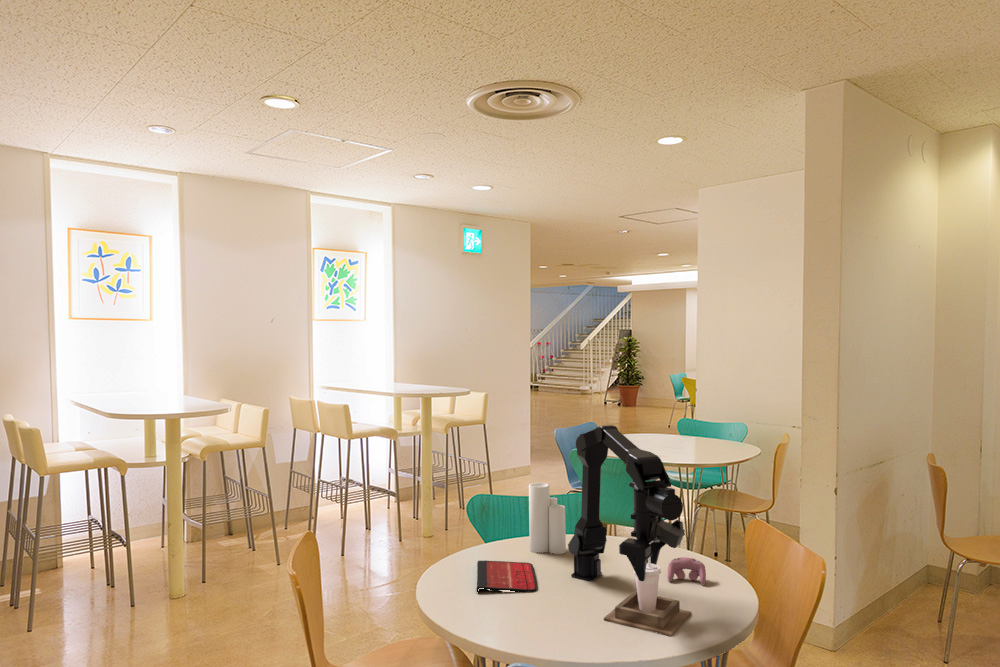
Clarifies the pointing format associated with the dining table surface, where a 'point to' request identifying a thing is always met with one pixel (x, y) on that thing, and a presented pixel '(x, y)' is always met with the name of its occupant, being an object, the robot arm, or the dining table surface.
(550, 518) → the vase
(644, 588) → the smoothie
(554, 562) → the dining table surface
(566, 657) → the dining table surface
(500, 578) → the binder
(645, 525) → the robot arm
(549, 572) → the dining table surface
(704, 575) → the video game controller
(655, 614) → the brown shallow square tray
